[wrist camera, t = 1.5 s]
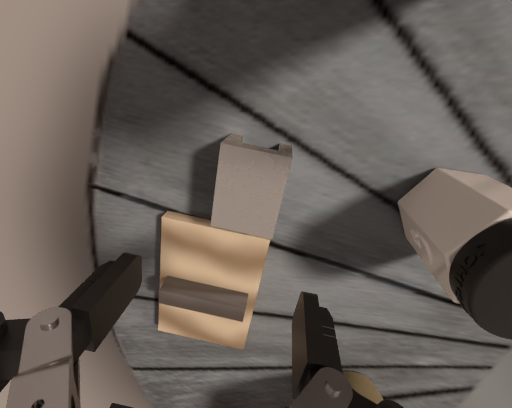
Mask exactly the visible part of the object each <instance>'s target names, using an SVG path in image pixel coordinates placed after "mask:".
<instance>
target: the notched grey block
mask: <svg viewBox="0 0 512 408" xmlns="http://www.w3.org/2000/svg"><path fill="white" fill-rule="evenodd" d="M242 141H243V136H242V135H237V134H232V133H231V134H230V135H229V136H228V137H227V138H226V139H224V140H223V141H222V142H221V144H220V152H219V160H218V169H217V177H216V185H215V193H214V201H213V209H212V217H211V226H214V227H218V228H223V229H228V230H232V231H237V232H242V233H246V234H251V235H255V236H260V237H265V238H269V239H273V235H274V230H275V226H276V222H277V218H278V214H279V210H280V206H281V202H282V198H283V194H284V190H285V186H286V182H287V178H288V174H289V169H290V165H291V161H292V146H290V145H285V144H279V149H278V150H274V149H269V148H264V147H259V146H254V145H250V144H245V143H242Z"/></svg>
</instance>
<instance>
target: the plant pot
mask: <svg viewBox="0 0 512 408" xmlns="http://www.w3.org/2000/svg"><path fill="white" fill-rule="evenodd" d="M342 372H343V375H344V376H345V377H346V378H347V379H348V381H349V383H350V385H351V387H352V388H353V389H354V390H355V391H356V392H357V393H359V394H360V395H362V396H364V397H365V398H367V399H369V400H371V401H373V402H374V403H376V404H378V403H379V402H380V401H382V400H383V398H382V397H381V395H380V394H379V392H378V390H377V389H376V387H375V386H374V385H373V383H372V382H371V380H370V379H368V378H367V377H366V376H364V375H362V374H360V373H357V372H352V371H342Z"/></svg>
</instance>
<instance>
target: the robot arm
mask: <svg viewBox="0 0 512 408" xmlns="http://www.w3.org/2000/svg"><path fill="white" fill-rule="evenodd" d="M141 281H142V266H141V256H139V255H134V254H130V253H123V254H122V255H121V256H120V257H119V258H118V259H117V260H116V261H109V262H107V263H105V264H103V265H101V266H99V267H98V268H97V269H96V270H95V271H94V272H93V273H92V275H91V276H89V277H88V278H87V279H86V280H85V282H83V283H82V284H81V285H80V286H79V287H78V288H77V289H76V290H75V291H74V292H73V293H72V294H71V295H70V296H69V297H68V298H67V299H66V300H65V301H64V302H63V303H62V304H61V305H60V306H59V307H55V308H50V309H46V310H43V311H41V312H39V313H38V314H36V315H35V316H33V317H32V318H31V319H17V320H5V318H4V315H3V313H2V312H0V392H1V391H2V389H3V388H4V387H5V386H6V385H7V384H8V382H9V381H10V380H11V379H12V380H11V384H10V389H9V394H8V400H7V406H6V408H81V407H80V367H79V357H80V356H81V354H82V353H83V352H84V350H88V351H92V352H95V351H96V349H97V348H98V346H99V345H100V344H101V342H102V341H103V340H104V338H105V337H106V335H107V334H108V333H109V331H110V330H111V328H112V327H113V326H114V324H115V323H116V321H117V320H118V319H119V317H120V316H121V314H122V313H123V312H124V310H125V309H126V307H127V306H128V305H129V303H130V302H131V301H132V299H133V298H134V296H135V295H136V294H137V292H138V290H139V288H140V285H141ZM292 379H293V398H294V399H295V400H294V402H293V403H292V404H291V405H290V406H289V407H288V408H403V407H402V406H401V405H399V404H398V403H396V402H394V401H391V400H382V401H380V402H379V403H378V404H376V403H374V402H373V401H371V400H369V399H367V398H365V397H364V396H362V395H360V394H359V393H357V392H356V391H355V390H354V389H353V388H352V387H351V385H350V383H349V381H348V379H347V378H346V377H345V376H344V375H343V372H342V367H341V361H340V356H339V350H338V345H337V339H336V334H335V330H334V323H333V318H332V316H331V315H330V313H329V311H328V310H327V308H323V307H319V302H318V296H317V295H316V294H312V293H307V292H301V294H300V297H299V300H298V303H297V306H296V309H295V312H294V315H293V321H292ZM110 408H132V407H128V406H124V405H119V404H115V403H112V404H111V406H110ZM286 408H287V407H286Z"/></svg>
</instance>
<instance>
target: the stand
mask: <svg viewBox="0 0 512 408" xmlns="http://www.w3.org/2000/svg"><path fill="white" fill-rule="evenodd" d="M269 243H270V239H269V238H265V237H260V236H255V235H251V234H246V233H242V232H237V231H232V230H228V229H223V228H218V227H214V226H211V220H208V219H203V218H199V217H194V216H190V215H185V214H180V213H176V212H171V211H167V212H166V213H165V214H164V215H163V216H162V224H161V257H160V289H159V323H158V330H160V331H164V332H169V333H173V334H177V335H182V336H186V337H190V338H195V339H199V340H204V341H208V342H212V343H217V344H221V345H226V346H230V347H234V348H239V349H243V350H244V346H245V342H246V338H247V334H248V329H249V325H250V321H251V317H252V313H253V309H254V305H255V301H256V296H257V292H258V288H259V284H260V280H261V276H262V272H263V268H264V263H265V259H266V255H267V251H268V247H269Z"/></svg>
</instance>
